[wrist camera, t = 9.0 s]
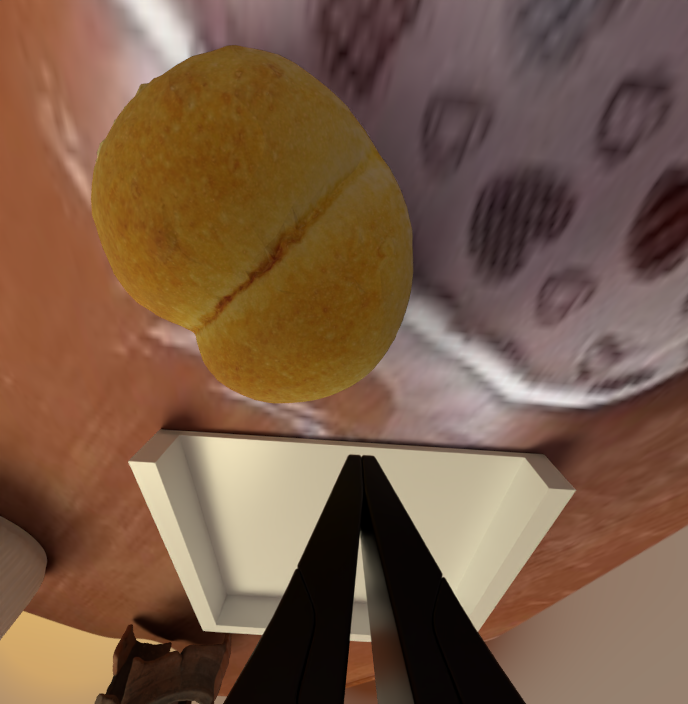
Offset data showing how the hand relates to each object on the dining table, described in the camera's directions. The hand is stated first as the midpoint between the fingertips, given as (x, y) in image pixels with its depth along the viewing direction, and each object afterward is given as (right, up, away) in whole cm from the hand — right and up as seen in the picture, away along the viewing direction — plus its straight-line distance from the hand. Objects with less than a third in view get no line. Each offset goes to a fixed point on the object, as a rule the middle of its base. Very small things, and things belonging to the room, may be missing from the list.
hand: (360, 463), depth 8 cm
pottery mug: (-17, -24, +17) cm, 34 cm away
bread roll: (+1, +6, +2) cm, 7 cm away
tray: (-1, -9, +9) cm, 13 cm away
